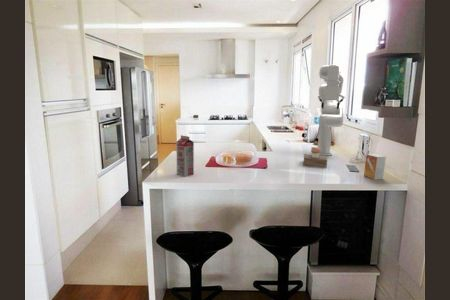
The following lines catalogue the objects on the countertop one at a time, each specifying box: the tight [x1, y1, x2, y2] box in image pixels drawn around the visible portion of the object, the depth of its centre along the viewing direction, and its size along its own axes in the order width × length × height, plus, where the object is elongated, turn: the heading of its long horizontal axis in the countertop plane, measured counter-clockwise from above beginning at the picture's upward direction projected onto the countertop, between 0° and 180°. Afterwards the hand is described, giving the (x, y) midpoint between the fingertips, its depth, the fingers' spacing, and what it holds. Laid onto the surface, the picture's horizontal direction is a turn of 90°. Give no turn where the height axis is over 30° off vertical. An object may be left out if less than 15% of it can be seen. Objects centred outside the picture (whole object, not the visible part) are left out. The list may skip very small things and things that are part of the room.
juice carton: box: [175, 135, 195, 178], centre depth 159 cm, size 7×7×22 cm
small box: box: [363, 153, 387, 180], centre depth 163 cm, size 8×6×13 cm
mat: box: [346, 164, 360, 173], centre depth 184 cm, size 16×12×1 cm
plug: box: [310, 146, 320, 158], centre depth 188 cm, size 6×6×11 cm
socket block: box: [303, 153, 328, 169], centre depth 188 cm, size 14×14×6 cm
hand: (330, 108), depth 198 cm, fingers open, 9 cm apart
